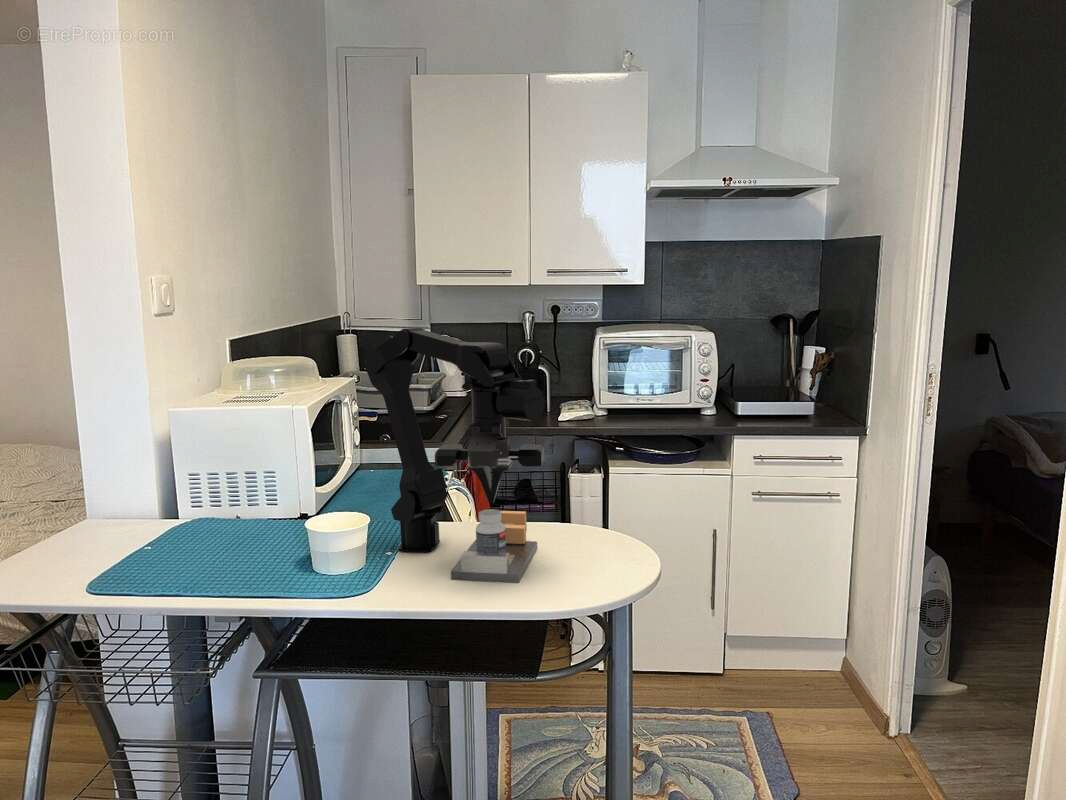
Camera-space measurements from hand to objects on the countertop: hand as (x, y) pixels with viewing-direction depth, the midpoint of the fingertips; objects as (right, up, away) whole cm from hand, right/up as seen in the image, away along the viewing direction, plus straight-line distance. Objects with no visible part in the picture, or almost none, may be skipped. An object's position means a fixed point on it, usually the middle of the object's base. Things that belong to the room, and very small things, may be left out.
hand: (491, 502), depth 141 cm
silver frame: (+1, -12, +3) cm, 12 cm away
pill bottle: (0, -11, 0) cm, 11 cm away
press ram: (+2, -8, +12) cm, 15 cm away
